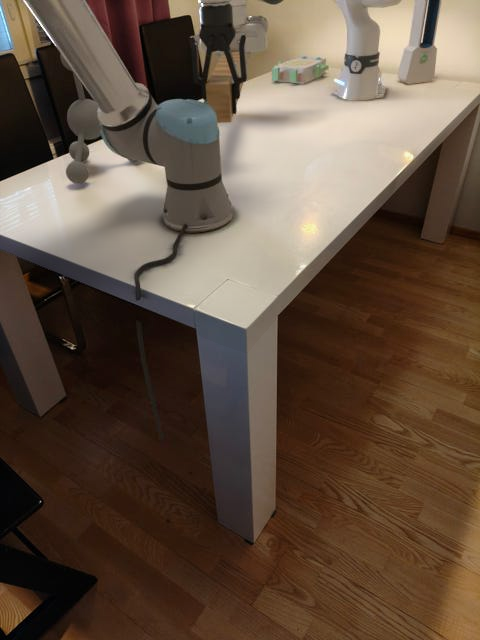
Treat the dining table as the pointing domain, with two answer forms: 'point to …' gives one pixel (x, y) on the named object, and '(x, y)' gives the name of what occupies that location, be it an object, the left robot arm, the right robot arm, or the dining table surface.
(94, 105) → the molecular model
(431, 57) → the electronic device
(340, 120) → the dining table surface
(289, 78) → the white green flat box
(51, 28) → the left robot arm
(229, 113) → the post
